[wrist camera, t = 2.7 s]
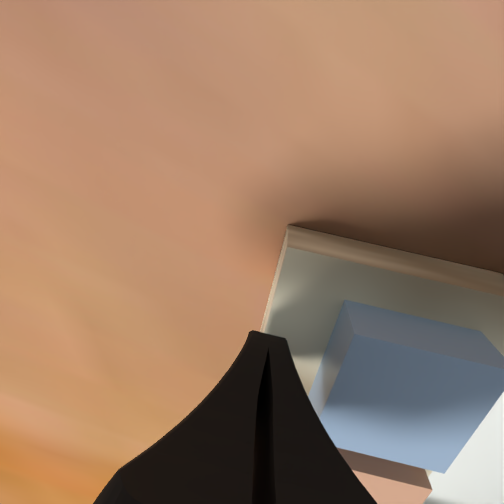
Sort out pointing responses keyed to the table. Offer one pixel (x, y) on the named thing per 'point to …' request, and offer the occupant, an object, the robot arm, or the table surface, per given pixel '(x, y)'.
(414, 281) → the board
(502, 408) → the tray
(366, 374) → the slate tile
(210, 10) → the table surface
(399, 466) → the terracotta tile
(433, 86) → the table surface
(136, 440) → the table surface
